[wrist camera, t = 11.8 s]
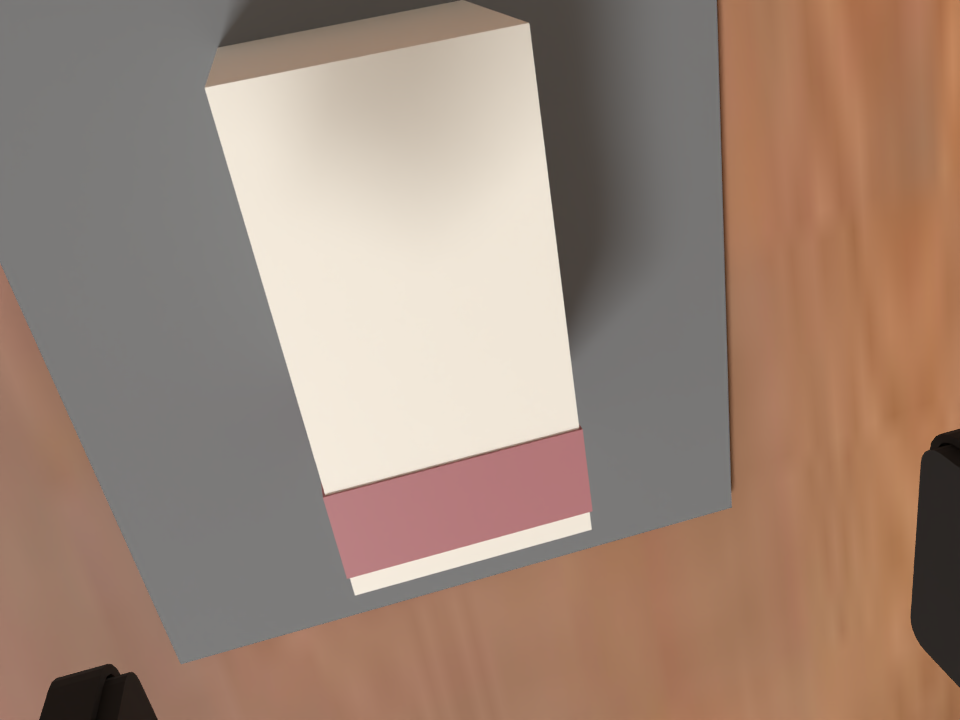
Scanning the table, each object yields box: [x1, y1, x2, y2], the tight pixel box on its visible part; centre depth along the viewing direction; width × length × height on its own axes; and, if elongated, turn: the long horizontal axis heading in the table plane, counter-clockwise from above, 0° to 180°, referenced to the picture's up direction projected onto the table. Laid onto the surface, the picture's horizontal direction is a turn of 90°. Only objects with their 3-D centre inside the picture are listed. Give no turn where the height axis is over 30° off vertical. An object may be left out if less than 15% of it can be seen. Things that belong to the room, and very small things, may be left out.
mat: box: [0, 0, 732, 664], centre depth 20 cm, size 20×16×1 cm
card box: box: [205, 0, 592, 595], centre depth 18 cm, size 10×5×5 cm, turn 9°
